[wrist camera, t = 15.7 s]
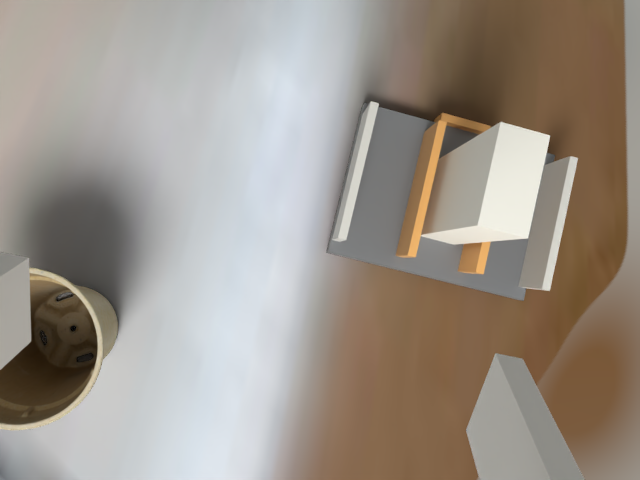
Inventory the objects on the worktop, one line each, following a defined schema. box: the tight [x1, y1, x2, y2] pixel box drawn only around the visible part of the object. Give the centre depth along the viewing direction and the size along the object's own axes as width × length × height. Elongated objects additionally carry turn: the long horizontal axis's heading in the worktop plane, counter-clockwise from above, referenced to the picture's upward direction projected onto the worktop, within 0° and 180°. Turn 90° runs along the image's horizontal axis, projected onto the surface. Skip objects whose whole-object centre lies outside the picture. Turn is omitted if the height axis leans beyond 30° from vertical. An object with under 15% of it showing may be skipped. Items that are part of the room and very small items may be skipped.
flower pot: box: [0, 267, 118, 430], centre depth 34 cm, size 9×9×9 cm
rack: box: [327, 101, 578, 301], centre depth 39 cm, size 13×16×5 cm
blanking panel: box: [421, 122, 550, 245], centre depth 34 cm, size 6×3×12 cm, turn 166°
